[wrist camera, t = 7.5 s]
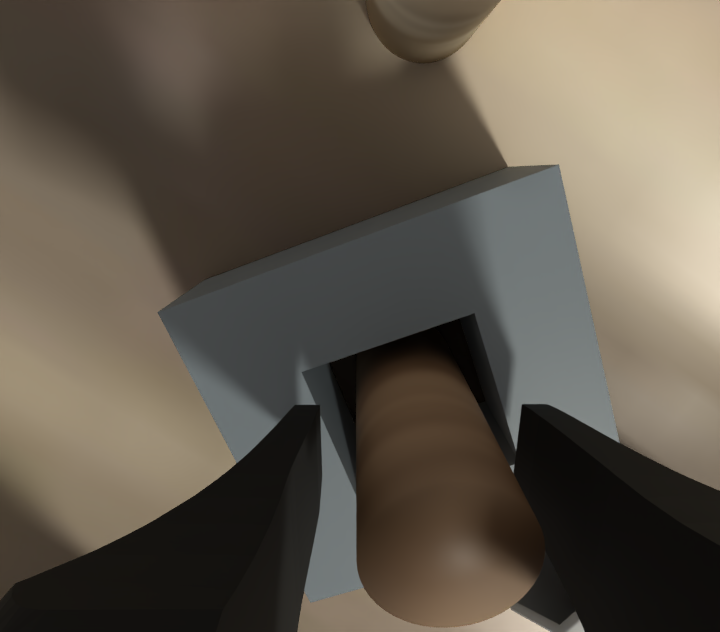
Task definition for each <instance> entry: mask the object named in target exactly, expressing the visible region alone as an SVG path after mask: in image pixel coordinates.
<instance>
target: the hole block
mask: <svg viewBox="0 0 720 632" xmlns="http://www.w3.org/2000/svg"><path fill="white" fill-rule="evenodd" d="M158 314H159V316H160V318H161V320H162V322H163V324H164V325H165V327H166V329H167V331H168V333H169V335H170V337H171V339H172V341H173V343H174V344H175V346H176V348H177V350H178V352H179V354H180V356H181V358H182V360H183V362H184V363H185V365H186V367H187V369H188V371H189V373H190V375H191V377H192V379H193V381H194V382H195V384H196V386H197V388H198V390H199V392H200V394H201V396H202V398H203V400H204V401H205V403H206V405H207V407H208V409H209V411H210V413H211V415H212V417H213V419H214V420H215V422H216V424H217V426H218V428H219V430H220V432H221V434H222V436H223V438H224V439H225V441H226V443H227V445H228V447H229V449H230V451H231V453H232V455H233V457H234V458H235V460H236V462H237V463H238V462H239V461H240V460H241V459H242V458H243V457H244V456H246V455H247V454H248V453H249V452H250V451H251V450H252V449H253V448H254V447H255V446H256V445H257V444H258V443H259V442H260V441H261V440H262V439H263V438H264V437H265V436H266V435H267V434H268V433H269V432H270V431H271V430H272V429H273V428H274V427H275V426H276V425H277V424H278V422H279V421H280V420H281V419H282V418H283V417H284V416H285V415H286V414H287V412H288V411H289V410H290V409H291V408H292V407H293V406H294V405H320V418H321V450H322V487H321V500H320V511H319V518H318V523H317V528H316V533H315V538H314V544H313V549H312V554H311V559H310V564H309V569H308V574H307V579H306V584H305V589H304V591H305V593H306V595H307V597H308V599H309V601H310V603H311V602H314V601H318V600H321V599H325V598H328V597H332V596H336V595H339V594H343V593H346V592H350V591H353V590H357V589H360V588H364V587H363V585H362V583H361V581H360V578H359V574H358V571H357V562H356V426H355V423H354V421H353V419H352V416H351V414H350V411H349V409H348V407H347V404H346V402H345V400H344V397H343V395H342V392H341V390H340V388H339V385H338V383H337V380H336V378H335V376H334V373H333V371H332V369H331V366H330V364H329V363H330V362H333V361H336V360H338V359H341V358H344V357H347V356H350V355H353V354H356V353H359V352H362V351H365V350H368V349H371V348H374V347H377V346H380V345H383V344H385V343H388V342H391V341H394V340H397V339H400V338H403V337H406V336H409V335H412V334H415V333H418V332H421V331H424V330H427V329H430V328H432V327H435V326H438V325H441V324H444V323H447V322H450V321H453V320H456V319H460V322H461V325H462V328H463V332H464V335H465V338H466V341H467V344H468V347H469V351H470V354H471V357H472V360H473V363H474V367H475V370H476V373H477V376H478V379H479V383H480V386H481V389H482V392H483V395H484V399H485V402H482V403H479V404H478V405H479V407H480V409H481V411H482V413H483V415H484V417H485V419H486V421H487V423H488V425H489V427H490V429H491V431H492V433H493V435H494V436H495V438H496V440H497V442H498V444H499V446H500V448H501V450H502V452H503V454H504V456H505V458H506V460H507V462H508V464H509V466H510V468H511V470H512V472H513V473H514V465H515V456H516V448H517V440H518V432H519V423H520V415H521V407H522V404H548V405H550V406H553V407H555V408H557V409H559V410H561V411H563V412H565V413H567V414H568V415H570V416H572V417H574V418H576V419H578V420H579V421H581V422H583V423H585V424H586V425H588V426H590V427H592V428H594V429H595V430H597V431H599V432H601V433H602V434H604V435H606V436H608V437H610V438H611V439H613V440H615V441H617V442H619V438H618V433H617V429H616V424H615V420H614V415H613V410H612V406H611V401H610V397H609V392H608V388H607V383H606V378H605V374H604V369H603V365H602V360H601V355H600V351H599V346H598V342H597V337H596V333H595V328H594V323H593V319H592V314H591V310H590V305H589V301H588V296H587V291H586V287H585V282H584V278H583V273H582V269H581V264H580V259H579V255H578V250H577V246H576V241H575V236H574V232H573V227H572V223H571V218H570V214H569V209H568V204H567V200H566V195H565V191H564V186H563V182H562V177H561V172H560V168H559V165H539V166H517V167H507V168H504V169H502V170H499V171H496V172H494V173H491V174H488V175H485V176H483V177H480V178H477V179H475V180H472V181H469V182H467V183H464V184H461V185H459V186H456V187H453V188H451V189H448V190H445V191H442V192H440V193H437V194H434V195H432V196H429V197H426V198H424V199H421V200H418V201H416V202H413V203H410V204H407V205H405V206H402V207H399V208H397V209H394V210H391V211H389V212H386V213H383V214H381V215H378V216H375V217H373V218H370V219H367V220H364V221H362V222H359V223H356V224H354V225H351V226H348V227H346V228H343V229H340V230H338V231H335V232H332V233H329V234H327V235H324V236H321V237H319V238H316V239H313V240H311V241H308V242H305V243H303V244H300V245H297V246H295V247H292V248H289V249H286V250H284V251H281V252H278V253H276V254H273V255H270V256H268V257H265V258H262V259H260V260H257V261H254V262H251V263H249V264H246V265H243V266H241V267H238V268H235V269H233V270H230V271H227V272H225V273H222V274H219V275H217V276H214V277H211V278H208V279H206V280H204V281H202V282H201V283H199V284H198V285H196V286H195V287H194V288H192V289H191V290H189V291H188V292H186V293H185V294H183V295H182V296H180V297H179V298H178V299H176V300H175V301H173V302H172V303H170V304H169V305H167V306H166V307H165V308H163V309H162V310H160V311H159V312H158ZM619 443H620V442H619Z"/></svg>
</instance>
